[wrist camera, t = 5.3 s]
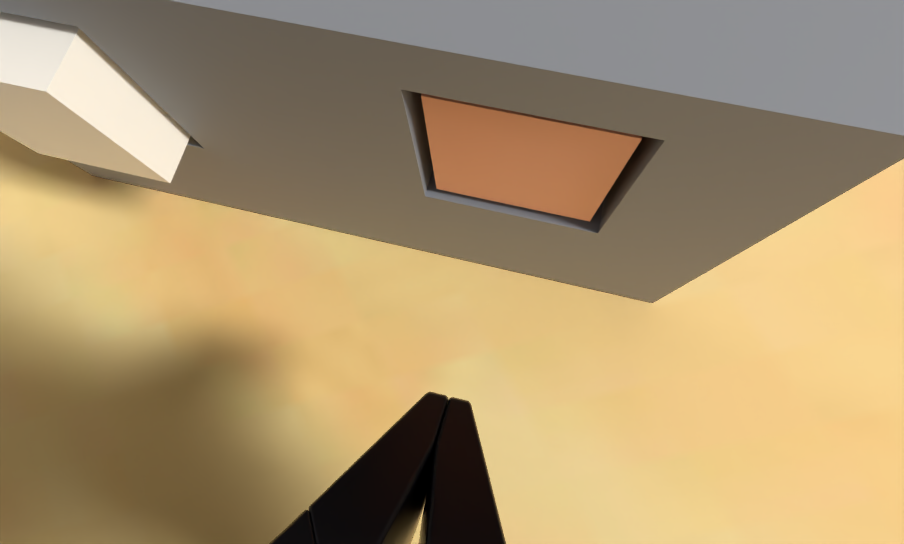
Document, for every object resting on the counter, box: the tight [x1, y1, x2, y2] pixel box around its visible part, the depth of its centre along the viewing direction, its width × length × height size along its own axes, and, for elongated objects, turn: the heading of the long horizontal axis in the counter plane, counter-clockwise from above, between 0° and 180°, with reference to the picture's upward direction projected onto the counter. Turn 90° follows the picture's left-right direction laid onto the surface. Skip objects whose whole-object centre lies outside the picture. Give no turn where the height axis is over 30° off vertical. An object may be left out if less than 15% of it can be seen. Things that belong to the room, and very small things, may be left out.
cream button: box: [0, 12, 191, 183], centre depth 12 cm, size 2×4×4 cm, turn 76°
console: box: [0, 0, 904, 303], centre depth 14 cm, size 5×22×11 cm, turn 76°
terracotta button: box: [421, 94, 642, 222], centre depth 11 cm, size 2×4×4 cm, turn 76°
